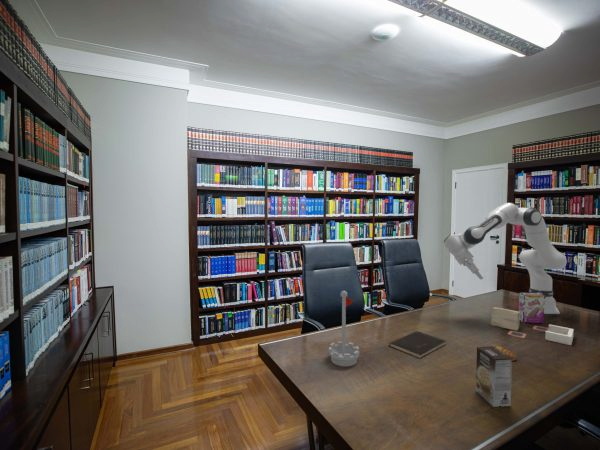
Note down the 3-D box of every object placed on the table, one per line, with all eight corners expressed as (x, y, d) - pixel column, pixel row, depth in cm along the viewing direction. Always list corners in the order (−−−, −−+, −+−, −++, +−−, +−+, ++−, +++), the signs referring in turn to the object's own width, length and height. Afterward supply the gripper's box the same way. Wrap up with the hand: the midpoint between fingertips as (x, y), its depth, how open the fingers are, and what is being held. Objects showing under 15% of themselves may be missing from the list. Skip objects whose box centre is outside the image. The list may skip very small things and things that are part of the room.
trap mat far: (534, 325, 167) (534, 325, 167) (550, 329, 162) (550, 328, 162) (532, 329, 162) (532, 328, 162) (549, 332, 158) (549, 332, 158)
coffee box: (474, 390, 106) (475, 346, 105) (491, 390, 106) (492, 345, 106) (493, 407, 97) (494, 358, 96) (512, 406, 97) (513, 357, 97)
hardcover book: (446, 345, 144) (446, 340, 144) (420, 359, 130) (420, 354, 130) (415, 334, 156) (415, 330, 156) (389, 346, 142) (389, 342, 142)
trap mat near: (510, 330, 160) (510, 330, 160) (526, 334, 155) (526, 334, 155) (507, 334, 155) (507, 334, 155) (524, 338, 150) (524, 337, 150)
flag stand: (340, 370, 120) (340, 296, 119) (322, 357, 131) (322, 289, 130) (365, 363, 126) (366, 292, 125) (347, 350, 137) (347, 285, 136)
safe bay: (548, 331, 159) (549, 324, 159) (573, 336, 152) (573, 329, 152) (545, 339, 149) (545, 331, 149) (571, 345, 142) (571, 337, 142)
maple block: (493, 322, 173) (494, 306, 173) (519, 327, 165) (519, 311, 164) (491, 325, 169) (491, 309, 169) (517, 330, 160) (517, 314, 160)
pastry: (519, 359, 129) (519, 350, 129) (512, 363, 126) (512, 354, 125) (495, 351, 137) (495, 342, 137) (488, 354, 133) (488, 346, 133)
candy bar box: (523, 322, 172) (524, 294, 171) (518, 319, 177) (518, 292, 176) (544, 323, 171) (545, 295, 170) (538, 320, 176) (539, 292, 175)
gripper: (470, 255, 168) (487, 276, 163) (469, 255, 186) (485, 274, 181) (460, 261, 170) (477, 282, 165) (460, 261, 188) (476, 280, 183)
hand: (481, 278), depth 173 cm, fingers open, 8 cm apart
